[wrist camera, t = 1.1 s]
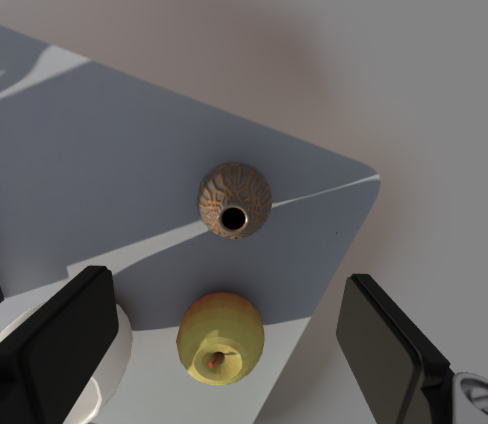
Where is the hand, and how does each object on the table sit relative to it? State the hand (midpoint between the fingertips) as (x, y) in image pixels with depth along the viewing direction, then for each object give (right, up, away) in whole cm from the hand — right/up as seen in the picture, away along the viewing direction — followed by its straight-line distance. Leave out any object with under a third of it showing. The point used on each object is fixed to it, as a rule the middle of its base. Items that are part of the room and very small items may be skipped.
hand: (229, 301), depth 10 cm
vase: (0, +6, +17) cm, 18 cm away
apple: (-2, -9, +22) cm, 24 cm away
